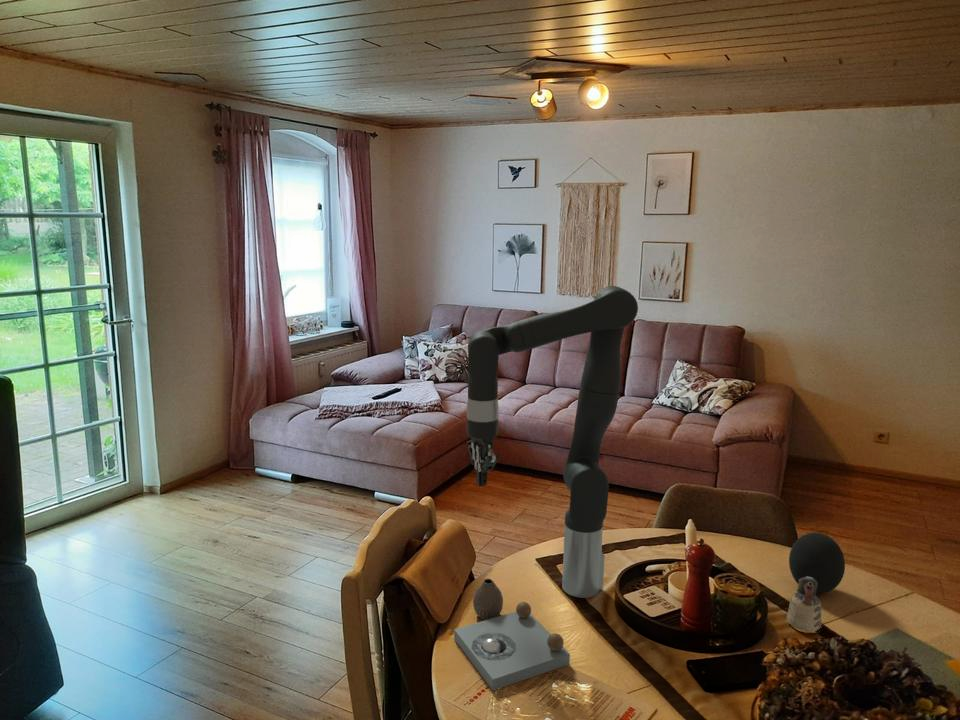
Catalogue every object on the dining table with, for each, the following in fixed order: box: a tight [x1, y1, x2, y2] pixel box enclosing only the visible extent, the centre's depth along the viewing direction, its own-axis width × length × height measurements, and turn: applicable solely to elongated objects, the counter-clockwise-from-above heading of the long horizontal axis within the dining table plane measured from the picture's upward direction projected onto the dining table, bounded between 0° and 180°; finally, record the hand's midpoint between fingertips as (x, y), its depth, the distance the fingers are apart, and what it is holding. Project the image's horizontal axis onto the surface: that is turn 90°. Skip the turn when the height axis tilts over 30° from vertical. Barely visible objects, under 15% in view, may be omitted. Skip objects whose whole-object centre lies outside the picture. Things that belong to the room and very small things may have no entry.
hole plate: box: [453, 611, 571, 691], centre depth 143 cm, size 18×18×2 cm
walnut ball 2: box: [547, 632, 565, 651], centre depth 140 cm, size 3×3×3 cm
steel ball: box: [482, 638, 501, 654], centre depth 141 cm, size 4×4×4 cm
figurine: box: [786, 577, 823, 631], centre depth 153 cm, size 7×7×12 cm
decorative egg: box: [788, 532, 846, 595], centre depth 167 cm, size 12×12×15 cm
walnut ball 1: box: [515, 601, 532, 618], centre depth 151 cm, size 3×3×3 cm
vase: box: [472, 578, 504, 621], centre depth 155 cm, size 7×7×9 cm
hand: (481, 484), depth 163 cm, fingers closed
